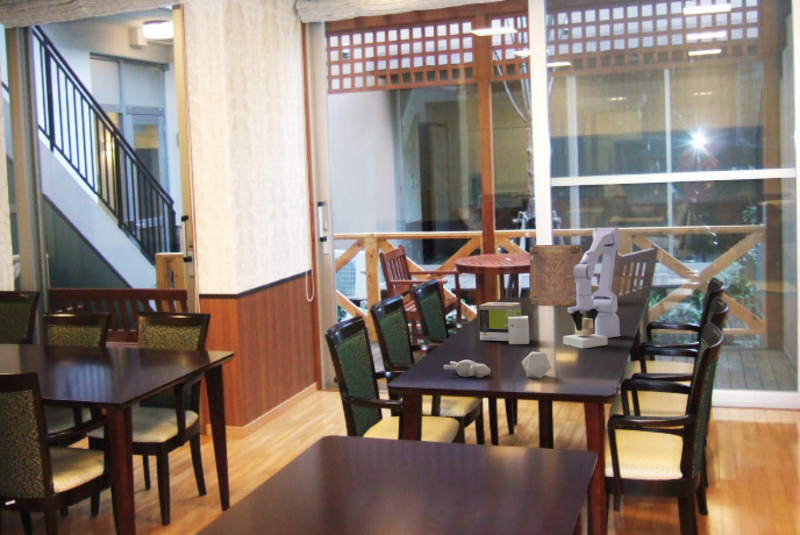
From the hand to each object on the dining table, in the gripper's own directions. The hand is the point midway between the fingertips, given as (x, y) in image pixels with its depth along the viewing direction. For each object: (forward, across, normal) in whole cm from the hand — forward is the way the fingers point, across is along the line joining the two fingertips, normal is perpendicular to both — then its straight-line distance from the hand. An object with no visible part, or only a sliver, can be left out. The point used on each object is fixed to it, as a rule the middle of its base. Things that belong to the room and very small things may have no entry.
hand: (584, 329), depth 344 cm
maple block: (+2, 0, 0) cm, 2 cm away
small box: (+6, +18, -18) cm, 27 cm away
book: (+6, -55, -92) cm, 107 cm away
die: (+6, +47, +34) cm, 58 cm away
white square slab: (+6, 0, 0) cm, 6 cm away
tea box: (+6, +20, -29) cm, 36 cm away
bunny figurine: (+6, +64, +19) cm, 67 cm away
